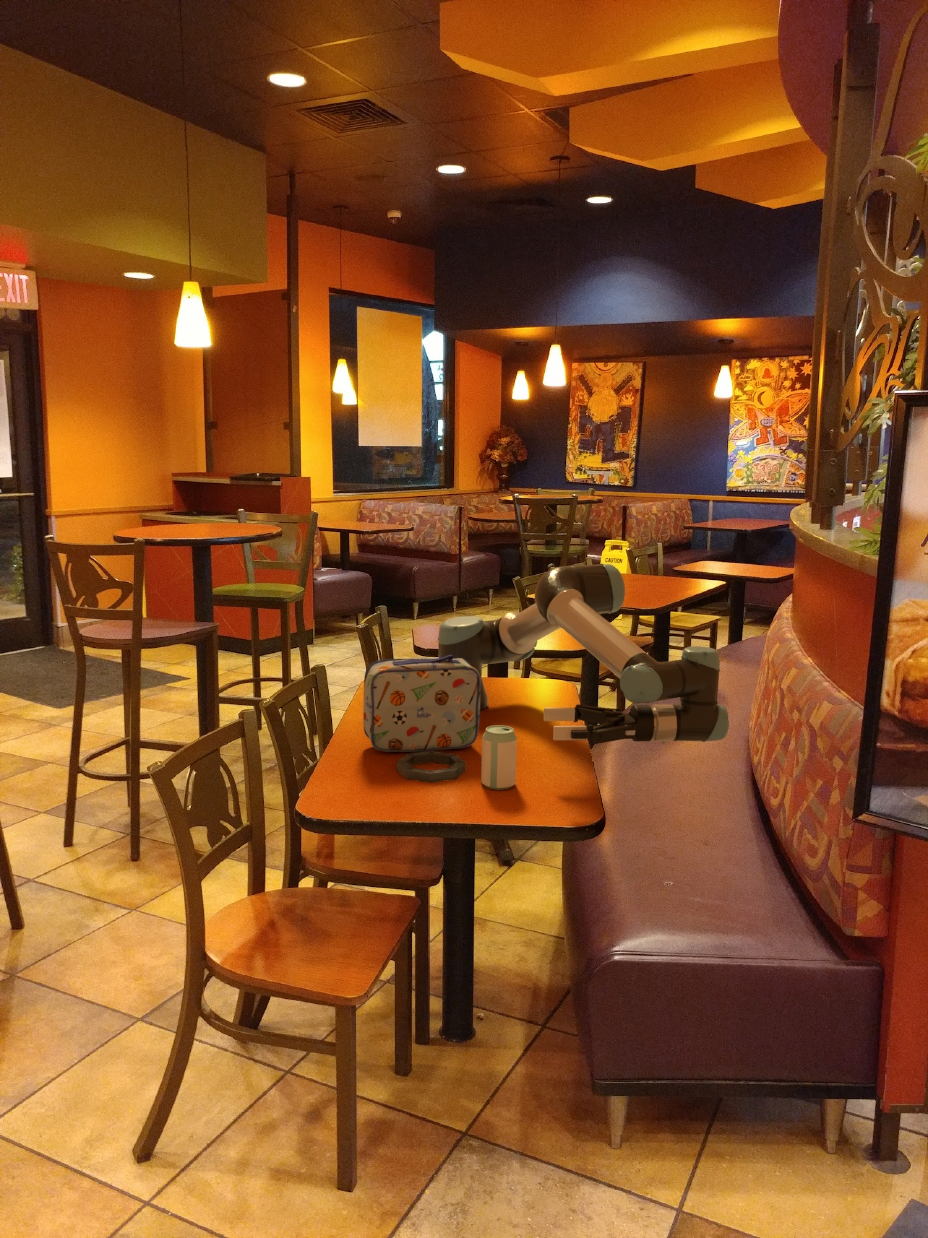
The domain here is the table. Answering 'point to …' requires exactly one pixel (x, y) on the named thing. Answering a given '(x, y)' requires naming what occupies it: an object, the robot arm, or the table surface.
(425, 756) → the ring
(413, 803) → the table surface
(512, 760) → the can
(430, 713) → the lunch box
